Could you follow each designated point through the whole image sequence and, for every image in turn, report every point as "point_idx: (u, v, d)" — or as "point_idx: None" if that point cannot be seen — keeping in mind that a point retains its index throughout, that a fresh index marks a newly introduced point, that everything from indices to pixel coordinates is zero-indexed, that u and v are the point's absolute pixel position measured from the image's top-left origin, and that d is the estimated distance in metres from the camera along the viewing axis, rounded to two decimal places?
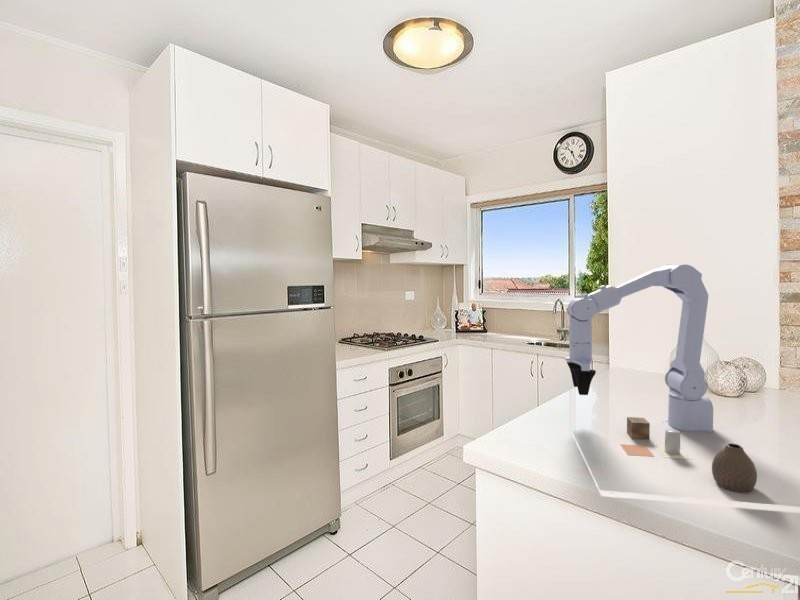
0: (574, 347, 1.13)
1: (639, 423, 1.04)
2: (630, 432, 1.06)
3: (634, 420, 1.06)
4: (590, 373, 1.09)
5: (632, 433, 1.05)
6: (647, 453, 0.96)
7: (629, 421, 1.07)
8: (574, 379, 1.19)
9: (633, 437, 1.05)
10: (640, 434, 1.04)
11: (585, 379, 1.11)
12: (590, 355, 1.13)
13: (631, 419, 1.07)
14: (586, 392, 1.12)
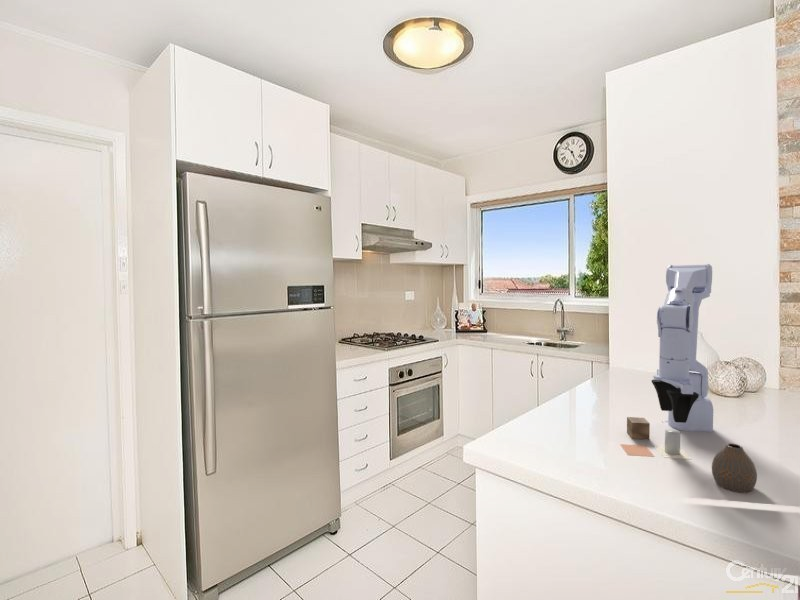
0: (668, 364, 0.94)
1: (639, 423, 1.04)
2: (630, 432, 1.06)
3: (634, 420, 1.06)
4: (692, 397, 0.90)
5: (632, 433, 1.05)
6: (647, 453, 0.96)
7: (629, 421, 1.07)
8: (662, 401, 1.00)
9: (633, 437, 1.05)
10: (640, 434, 1.04)
11: (683, 403, 0.91)
12: (688, 374, 0.93)
13: (631, 419, 1.07)
14: (684, 419, 0.92)
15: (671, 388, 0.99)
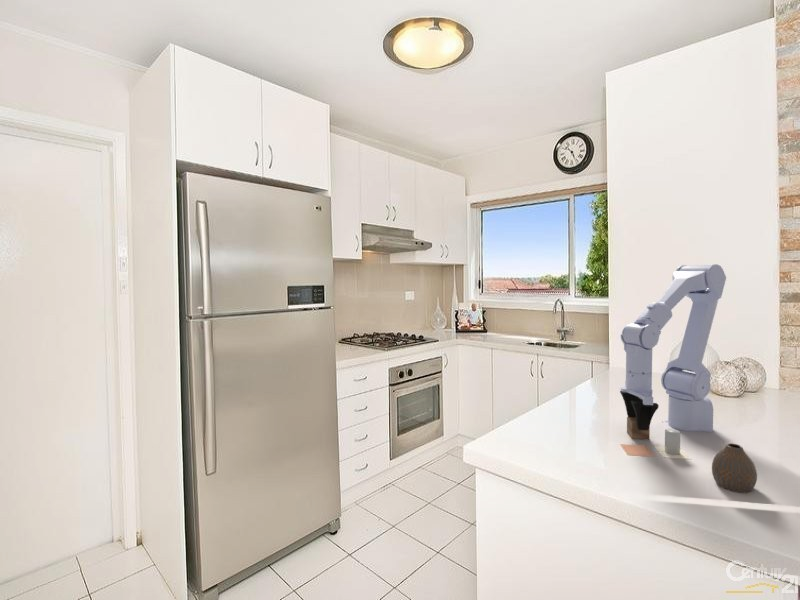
0: (633, 377, 1.04)
1: None
2: (630, 432, 1.06)
3: (634, 420, 1.06)
4: (652, 407, 1.00)
5: (632, 433, 1.05)
6: (647, 453, 0.96)
7: (629, 421, 1.07)
8: (629, 411, 1.10)
9: (633, 437, 1.05)
10: (640, 434, 1.04)
11: (645, 413, 1.02)
12: (650, 386, 1.03)
13: (631, 419, 1.07)
14: (646, 427, 1.02)
15: (637, 398, 1.09)
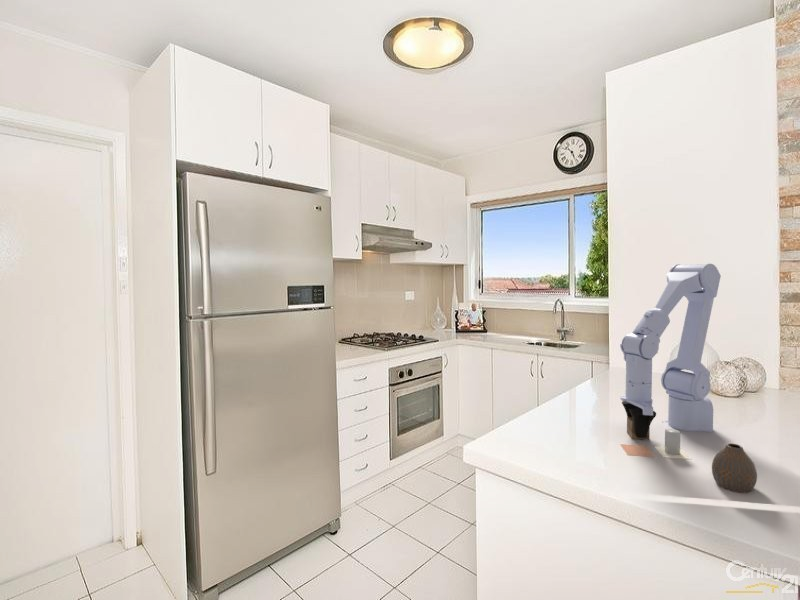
0: (632, 387, 1.04)
1: None
2: (630, 431, 1.06)
3: None
4: (650, 415, 1.01)
5: (632, 433, 1.05)
6: (647, 453, 0.96)
7: (629, 421, 1.07)
8: None
9: (633, 437, 1.05)
10: None
11: (643, 421, 1.03)
12: (650, 396, 1.03)
13: (631, 419, 1.07)
14: (644, 435, 1.04)
15: None
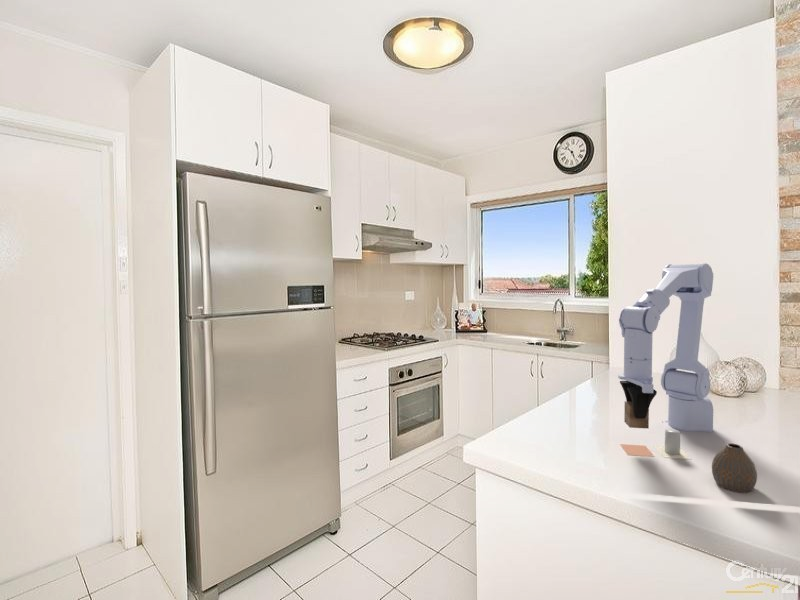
0: (631, 364, 0.96)
1: None
2: (628, 417, 0.98)
3: (632, 404, 0.98)
4: (650, 393, 0.94)
5: (630, 418, 0.97)
6: (647, 453, 0.96)
7: (627, 405, 0.99)
8: None
9: (631, 422, 0.97)
10: (639, 419, 0.97)
11: (643, 400, 0.96)
12: (650, 373, 0.96)
13: (629, 403, 0.99)
14: (644, 415, 0.96)
15: None
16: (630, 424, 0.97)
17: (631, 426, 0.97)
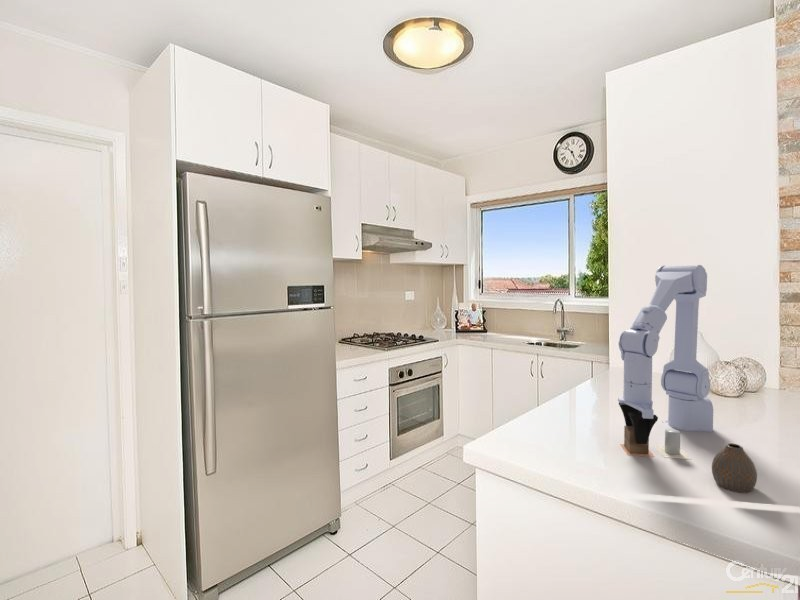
0: (631, 388, 0.96)
1: None
2: (628, 442, 0.98)
3: (632, 429, 0.98)
4: (651, 419, 0.92)
5: (630, 443, 0.97)
6: None
7: (627, 430, 0.98)
8: (628, 424, 1.01)
9: (631, 448, 0.97)
10: (639, 445, 0.96)
11: (644, 425, 0.94)
12: (650, 397, 0.95)
13: (629, 428, 0.99)
14: (645, 441, 0.95)
15: (637, 411, 1.00)
16: (630, 450, 0.97)
17: (631, 452, 0.97)
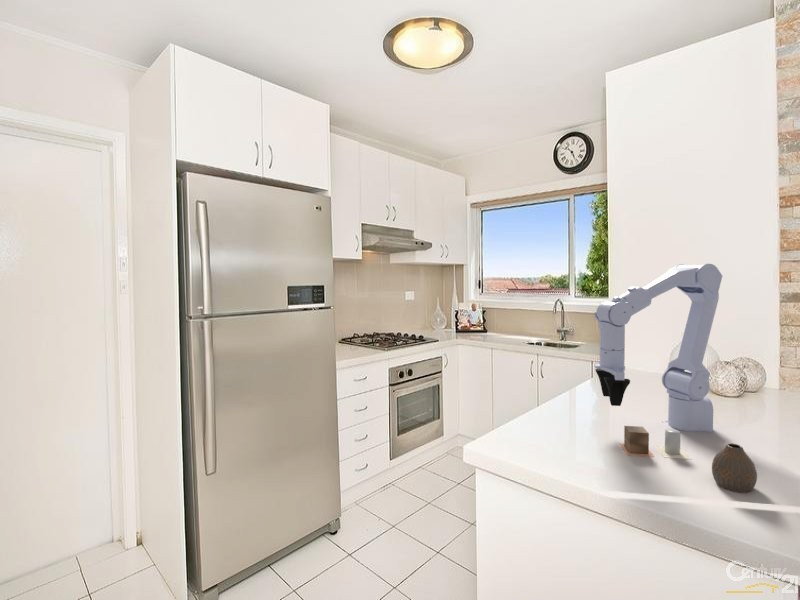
0: (606, 354, 1.06)
1: (637, 432, 0.96)
2: (628, 442, 0.98)
3: (632, 429, 0.98)
4: (624, 382, 1.02)
5: (630, 443, 0.97)
6: None
7: (627, 430, 0.98)
8: (603, 388, 1.12)
9: (631, 448, 0.97)
10: (639, 445, 0.96)
11: (618, 389, 1.03)
12: (623, 363, 1.05)
13: (629, 428, 0.99)
14: (619, 403, 1.04)
15: (611, 376, 1.11)
16: (630, 450, 0.97)
17: (631, 452, 0.97)
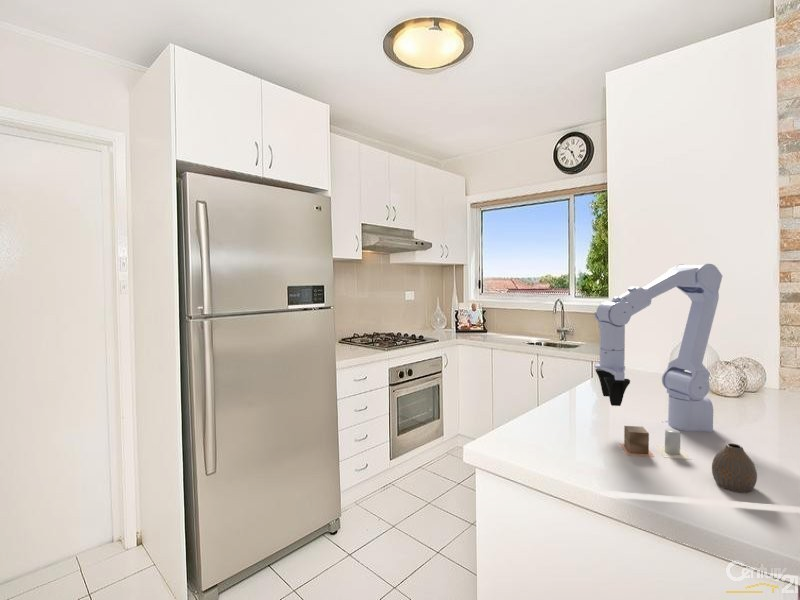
0: (606, 354, 1.06)
1: (637, 432, 0.96)
2: (628, 442, 0.98)
3: (632, 429, 0.98)
4: (624, 382, 1.02)
5: (630, 443, 0.97)
6: None
7: (627, 430, 0.98)
8: (603, 388, 1.12)
9: (631, 448, 0.97)
10: (639, 445, 0.96)
11: (618, 389, 1.03)
12: (623, 363, 1.05)
13: (629, 428, 0.99)
14: (619, 403, 1.04)
15: (611, 376, 1.11)
16: (630, 450, 0.97)
17: (631, 452, 0.97)
